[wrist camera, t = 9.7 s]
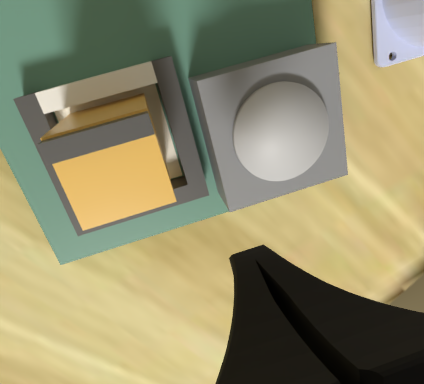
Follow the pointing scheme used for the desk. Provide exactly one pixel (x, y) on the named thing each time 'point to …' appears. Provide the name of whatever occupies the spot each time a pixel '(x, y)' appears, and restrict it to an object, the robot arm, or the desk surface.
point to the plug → (109, 161)
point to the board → (173, 102)
